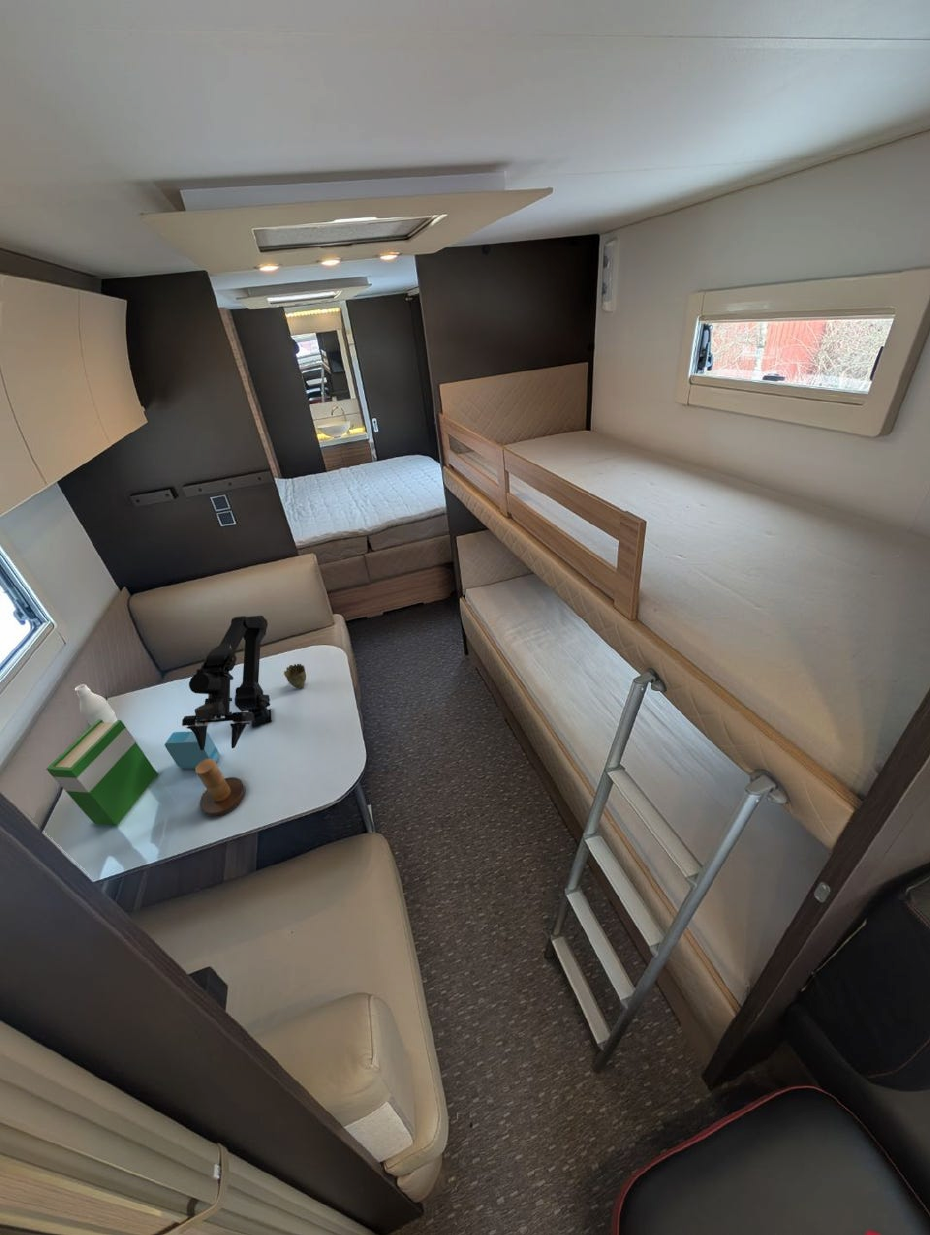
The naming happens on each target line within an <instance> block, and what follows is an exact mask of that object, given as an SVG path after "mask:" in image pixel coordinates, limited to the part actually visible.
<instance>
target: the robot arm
mask: <svg viewBox="0 0 930 1235" xmlns="http://www.w3.org/2000/svg"><path fill="white" fill-rule="evenodd" d="M268 623H269V622H268V619H267V618H265V617H264V616H263V615H252V616H246V615H243V616H242V615H241V616H234V617H232V618H231V621H230V625H229V627H228V628H227V630H226V632H225V634H224V636H223V638H222V640H221V642H220V643H219V644H218V646H216V647H214V648H213V649H211V650H210V651H209V653H208V654H207V655H206V657H205V659H204V661H203V663H202V665H201V667H200V668H198V669H196V673H195V674H194V675H192V676H191V678H190V680H189V682H188V688H189V690H190V691H191V692H192V693H194V694H199V695H208V696H207V698H205V700H204V704H202V705H200V706H199V707H197V708H195V709H194V714H193V715H185V716H183V718H182V720H181V726H182V727H186V729H189V731H190V732H193V733H194V734H195V736H196V739H197V742H198V744H199V747H200V750H204V748H205V742H206V733H208V725H206V724H208V723H221V722H232V723H229V725H230V728H231V741H230V743H231V744H230V745H231V749H235V748H236V746H237V744H238V742H239V740H240V738H241V735H242V734H243V732H244V730H245V729H246V726H248V725H250V722H251V728H257V727H260V726H263V725H266V724H269V723H272V720H273V719H272V709H268V707H270V705H271V703H270V702H271V698H270V695H269V694H264V690H263V688H262V686H261V685H260V684H259V680H260V658H261V656H260V655H261V642H262V640H263V639H264V638H265V636H266V635H267V630H268V629H267V628H268V626H269V625H268ZM242 640H244V652H243V668H242V669H243V670H242V683H241V684H240V686H237V687H236V688H235V696H234V705H235V706H234V707H236V708H237V709H238V710H239V711H234V712H233V711H230V710H231V707H230V706H231V702H233V697H231V681H233V680H234V677H233V675H231V673H230V672H231V671H233V669H234V668H235V666H236V662H237V660H238V659H237V655H236V652H237V649H238V647H239V645H240V644H241V641H242ZM216 719H217V720H216ZM205 723H206V724H205Z"/></svg>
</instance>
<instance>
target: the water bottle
mask: <svg viewBox="0 0 930 1235" xmlns="http://www.w3.org/2000/svg"><path fill="white" fill-rule="evenodd" d="M74 691H75V692H76V695H77V696H78V697H79V710H80V713H81V714H82V715H83V716H84V718H85V719H86V720H87V722H88V723H89V726H90V727H91V726H92V725H93V724H94V723H95V722H96V721H97V720H98V719H102V721H103V722H104V723H115V722H116V721H117V720H118V717H117V715H116V712H115V711H114V710H113V708H112V707H111V706H110V704H109V702H108V700H107V699H106V698H105V697H103V696H101V695H99V694H96V693H94V692H92V691H91V688H89V686H87V684H86V683H81V684H79V685H77V686H76V687H75V688H74Z"/></svg>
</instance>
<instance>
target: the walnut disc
mask: <svg viewBox="0 0 930 1235" xmlns="http://www.w3.org/2000/svg"><path fill="white" fill-rule="evenodd" d="M224 779H225V780H226V782H227V784H228V786H229V787H230V789H231V793H230V795H229V796H228V797H227V798H226V799H225V800H223V801H219V802H216V801H214V800H213V799H212V797H211V795H210V794H209V792H208V790H207V789H205V790H204V792H203V793H202V795H200V796H201V797H200V799H199V807H200V810H201V811H202V812H203V814H205V816H207V817H211V818H219V817H223V816H226V815H228V814H230V813H231V812H233V811H234V810H235V809H236V808H238V807H239V806H240V805H241V804H242V802H243V801H244V799H245V796H246V793H247V792H246V787H245V784H244V783H243V781H242V780H241V779H240V778H237V777H233V776H232V777H231V776H229V777H224Z"/></svg>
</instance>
